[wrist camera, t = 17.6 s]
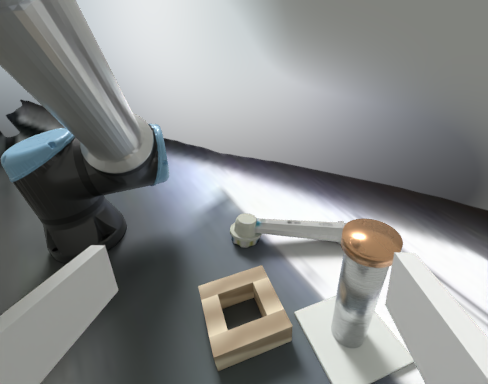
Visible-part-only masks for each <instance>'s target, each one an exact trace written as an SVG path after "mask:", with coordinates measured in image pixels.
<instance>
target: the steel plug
mask: <svg viewBox="0 0 488 384" xmlns="http://www.w3.org/2000/svg"><path fill="white" fill-rule="evenodd" d="M402 245H403V241H402V238H401V236H400V235H399V233H398V232H397V231H396V230H395V229H393V228H392V227H391V226H389V225H387V224H385V223H383V222H380V221H377V220H372V219H356V220H352V221H350V222H348V223H347V224H346V225H345V226H344V228H343V231H342V237H341V247H342V250H343V251H344V255H343V261H342V267H341V273H340V278H339V284H338V290H337V295H336V301H335V307H334V312H333V318H332V324H331V331H332V334H333V336H334V338H335V339H336V341H337V342H338V343H340V344H341V345H343V346H345V347H347V348H358V347H360V346H361V345H362V344H363V343H364V341H365V337H366V334H367V331H368V328H369V325H370V322H371V319H372V316H373V313H374V310H375V307H376V304H377V301H378V298H379V295H380V292H381V289H382V286H383V283H384V280H385V277H386V274H387V271H388V268H389V266H391V265H392V263H393V257H394V252H401V249H402Z"/></svg>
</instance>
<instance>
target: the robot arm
mask: <svg viewBox="0 0 488 384" xmlns="http://www.w3.org/2000/svg"><path fill="white" fill-rule="evenodd" d="M0 65H1V67H2V68H3V69H4V70H5V71H7V72H8V73H9V74H10V75H11V76H12V77H13V78H14V79H15V80H16V81H17V82H18V83H19V84H20V85H21V86H22V87H23V88H24V89H25V90H27V92H29V93H30V94H31V95H32V96H33V97H34V98H35V99H36V100H37V101H38V102H39V103H40V104H41V105H42V106H43V107H44V108H45V109H46V110H47V111H48V112H50V113H51V114H52V115H53V116H54V117H55V118H56V119H57V120H58V121H59V122H60V123H61V124H62V125H63V126H64V127H65V129H64V128H59V129H54V130H50V131H47V132H44V133H41V134H38V135H35V136H32V137H30V138H28V139H25V140H23V141H21V142H19V143H17V144H15V145H14V146H12V147H10V148H9V149H8V150H7V151H5V152H4V154H3V155H2V157H1V164H2V166H3V167H4V169H5V171H6V173H7V174H8V176H9V178H10V181H11V182H13V183H14V185H15V186H16V187H17V189H18V190H19V192H20V193H21V194H22V196H23V197H24V199H25V200H26V201H27V203H28V204H29V205H30V207H31V208H32V210H33V211H34V212H35V214H36V215H37V216H38V218H39V219H40V220H41V222H42V224H43V227H44V232H45V238H46V243H47V248H48V250H49V252H50V253H51V255H52V256H53V257H54V258H55V259H56V260H57V261H59V262H62V263H68V264H66V265H65V266H64V267H62V268H61V269H60V270H58V271H57V272H56V273H55V274H53V275H52V276H51V277H49V278H48V279H47V280H46V281H44V282H43V283H42V284H40V285H39V286H38V287H37V288H35V289H34V290H33V291H31V292H30V293H29V294H28V295H26V296H25V297H24V298H22V299H21V300H20V301H19V302H17V303H16V304H15V305H13V306H12V307H11V308H9V309H8V310H7V311H6V312H4V313H2V314H1V315H0V384H40V383H41V382H42V381H43V379H44V378H45V377H46V376H47V375H48V373H49V372H50V371H51V370H52V369H53V368H54V366H55V365H56V364H57V363H58V362H59V360H60V359H61V358H62V357H63V356H64V355H65V353H66V352H67V351H68V350H69V349H70V347H71V346H72V345H73V344H74V343H75V341H76V340H77V339H78V338H79V337H80V336H81V334H82V333H83V332H84V331H85V330H86V328H87V327H88V326H89V325H90V324H91V323H92V321H93V320H94V319H95V318H96V317H97V315H98V314H99V313H100V312H101V311H102V309H103V308H104V307H105V306H106V305H107V304H108V302H109V301H110V300H111V299H112V298H113V296H114V295H115V294H116V293H117V292H118V291H119V290H118V287H117V284H116V280H115V277H114V274H113V270H112V267H111V263H110V260H109V257H108V253H107V251H108V250H109V249H110V248H112V247H113V246H114V245H115V244H116V243H117V242H118V241H119V240H120V239H121V238H122V237H123V235H124V233H125V231H126V222H125V219H124V217H123V215H122V214H121V212H120V211H118V210H117V209H116V208H115V207H114V206H113V205H112V204H111V203H110V202H109V201H108V200H107V199H106V198H105V197H104V195H107V194H111V193H116V192H121V191H126V190H131V189H136V188H140V187H145V186H154V185H156V184H158V183H162V182H165V181H167V179H168V178H169V168H168V162H167V155H166V149H165V144H164V139H163V135H162V131H161V128H160V126H158V125H157V124H147V122H146V121H144V119H142V118H141V117H140V116H137V115H136V114H133V113H132V111H131V109H130V107H129V105H128V103H127V101H126V99H125V97H124V95H123V93H122V91H121V89H120V87H119V85H118V83H117V81H116V79H115V77H114V75H113V73H112V71H111V69H110V67H109V65H108V63H107V61H106V59H105V58H104V55H103V53H102V52H101V50H100V48H99V46H98V44H97V42H96V40H95V38H94V36H93V34H92V32H91V30H90V28H89V26H88V24H87V22H86V20H85V18H84V16H83V14H82V12H81V10H80V8H79V6H78V4H77V2H76V0H0ZM385 305H386V307H387V309H388V311H389V313H390V315H391V317H392V319H393V321H394V323H395V325H396V327H397V329H398V331H399V333H400V335H401V337H402V338H403V340H404V342H405V344H406V346H407V348H408V350H409V352H410V354H411V356H412V358H413V360H414V362H415V364H416V366H417V368H418V370H419V372H420V374H421V376H422V378H423V380H424V382H425V384H488V337H487V336H486V334H485V333H484V332H483V331H482V330H481V329H480V328H479V326H478V325H477V324H476V323H475V322H474V321H473V319H472V318H471V317H470V316H469V315H468V314H467V313H466V311H465V310H464V309H463V308H462V307H461V306H460V304H459V303H458V302H457V301H456V300H455V299H454V298H453V296H452V295H451V294H450V293H449V292H448V291H447V289H446V288H445V287H444V286H443V285H442V284H441V283H440V281H439V280H438V279H437V278H436V277H435V276H434V274H433V273H432V272H431V271H430V270H429V269H428V268H427V266H426V265H425V264H424V263H423V262H422V261H421V259H420V258H419V257H418V256H417V255H416V254H415V253H401V252H394V257H393V263H392V269H391V275H390V281H389V287H388V292H387V298H386V304H385Z"/></svg>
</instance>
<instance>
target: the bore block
mask: <svg viewBox="0 0 488 384" xmlns="http://www.w3.org/2000/svg"><path fill="white" fill-rule="evenodd" d="M198 287H199V292H200V296H201V301H202V306H203V310H204V315H205V320H206V325H207V329H208V334H209V339H210V343H211V348H212V353H213V358H214V361H215V364H216V367H217V370H218V371H220V370H223V369H225V368H227V367H230V366H232V365H235V364H237V363H240V362H242V361H244V360H247V359H249V358H252V357H254V356H256V355H259V354H261V353H264V352H266V351H268V350H271V349H273V348H276V347H278V346H280V345H283V344H285V343H288V342H290V341H291V340H292V324H291V322H290V320H289V318H288V316H287V314H286V312H285V310H284V308H283V306H282V304H281V302H280V300H279V298H278V296H277V294H276V292H275V290H274V288H273V286H272V284H271V282H270V280H269V278H268V276H267V274H266V272H265V270H264V268H263V266H262V265H261V266H258V267H255V268H252V269H249V270H246V271H243V272H240V273H237V274H234V275H231V276H228V277H224V278H221V279H218V280H215V281H212V282H209V283H206V284H203V285H200V286H198ZM251 298H255V300H256V303H257V305H258V308H259V310H260V313H261V315H262V318H259V319H257V320H254V321H251V322H249V323H246V324H243V325H241V326H238V327H236V328H233V329H230V330H228V329H227V326H226V322H225V319H224V315H223V311H222V309H223V308H226V307H229V306H232V305H234V304H237V303H240V302H243V301H246V300H248V299H251Z"/></svg>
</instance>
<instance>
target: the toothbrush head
mask: <svg viewBox="0 0 488 384" xmlns="http://www.w3.org/2000/svg"><path fill="white" fill-rule="evenodd" d="M346 224H347V223H344V221H338V223H337V222H316V221H296V220H276V219H257V218H256V217H255V216H254V215H251V214H246V213H244V214H240V215H239V216H238V217H237V218H236V222H235V223H234V224H233V225H231V228H230V234H231V235H232V241H233V242H234V244H238V245H240V246H241V247H246V248H248V246H252V245H255V244H256V243H257V242H258V239H259V238H260V237H261V233H262V234H271V235H280V236H289V237H298V238H307V239H316V240H325V241H334V242H337V243H338V244H341V237H342V231H343V228H344V226H345V225H346Z"/></svg>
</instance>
